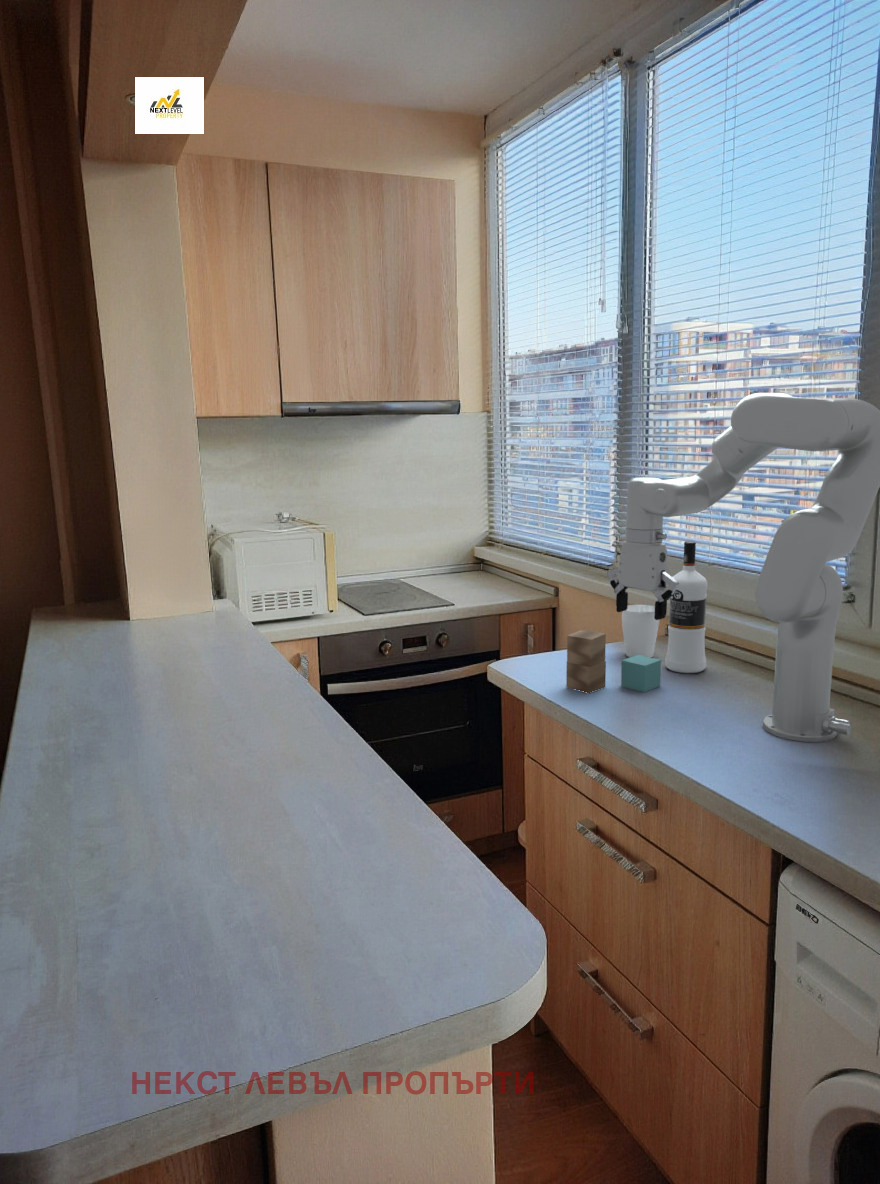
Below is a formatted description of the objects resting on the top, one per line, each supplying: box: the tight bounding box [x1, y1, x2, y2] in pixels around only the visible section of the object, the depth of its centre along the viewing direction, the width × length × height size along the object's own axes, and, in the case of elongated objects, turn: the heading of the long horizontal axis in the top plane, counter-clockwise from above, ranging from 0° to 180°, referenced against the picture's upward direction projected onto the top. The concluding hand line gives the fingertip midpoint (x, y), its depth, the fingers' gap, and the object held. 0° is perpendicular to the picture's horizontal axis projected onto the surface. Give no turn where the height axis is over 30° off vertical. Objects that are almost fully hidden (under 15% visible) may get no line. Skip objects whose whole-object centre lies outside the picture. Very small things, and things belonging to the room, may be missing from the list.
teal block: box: [620, 655, 662, 693], centre depth 178 cm, size 6×6×6 cm
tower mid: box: [566, 629, 607, 667], centre depth 177 cm, size 6×6×6 cm
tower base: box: [565, 660, 607, 694], centre depth 178 cm, size 6×6×6 cm
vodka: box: [664, 540, 709, 674], centre depth 187 cm, size 9×9×30 cm
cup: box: [621, 604, 660, 658], centre depth 201 cm, size 9×9×12 cm
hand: (640, 614), depth 176 cm, fingers open, 9 cm apart
